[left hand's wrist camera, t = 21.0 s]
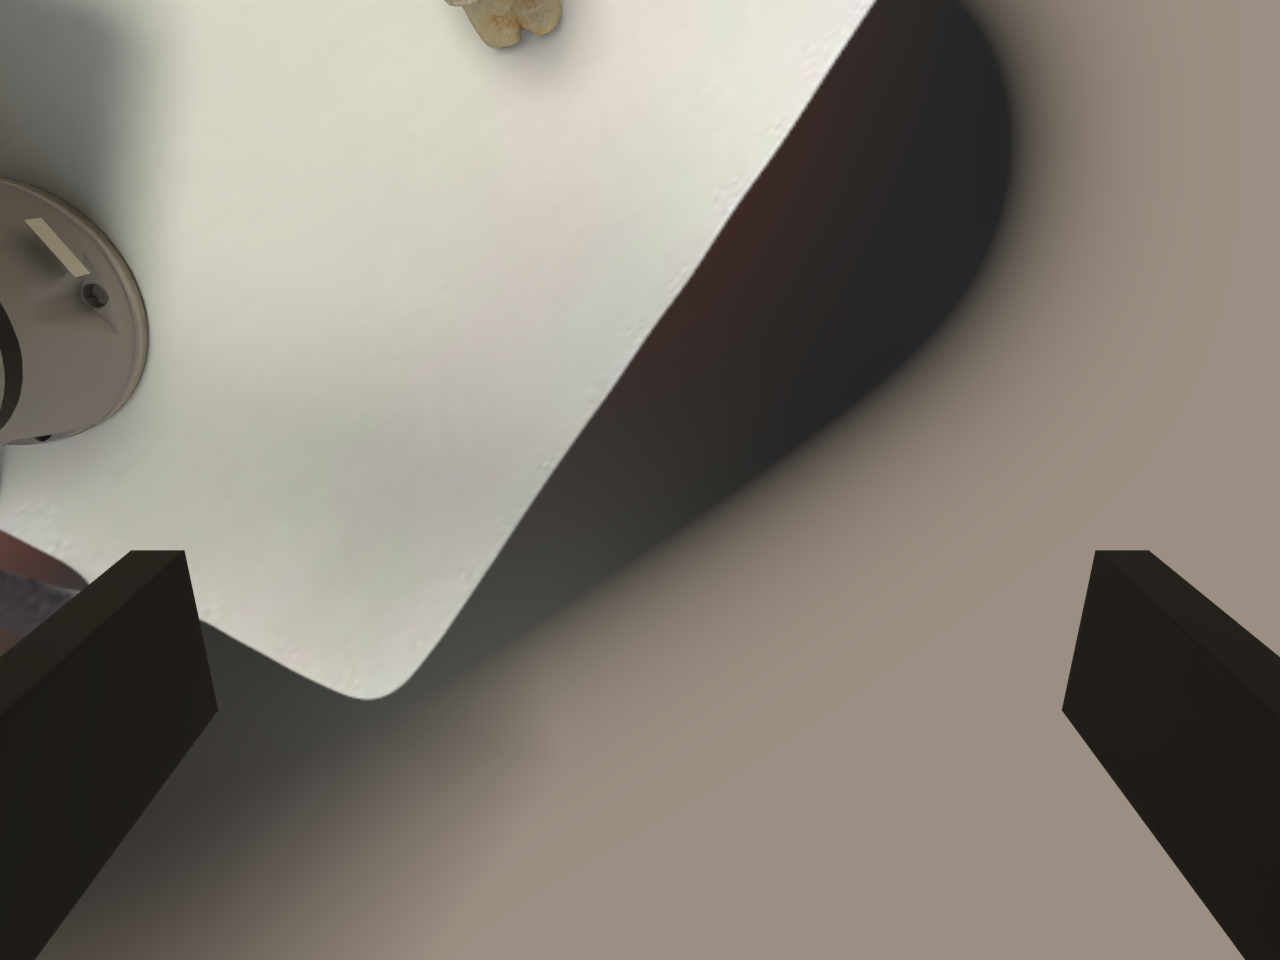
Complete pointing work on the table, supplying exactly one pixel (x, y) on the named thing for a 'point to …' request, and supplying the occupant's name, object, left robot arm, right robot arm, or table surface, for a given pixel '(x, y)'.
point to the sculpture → (510, 18)
